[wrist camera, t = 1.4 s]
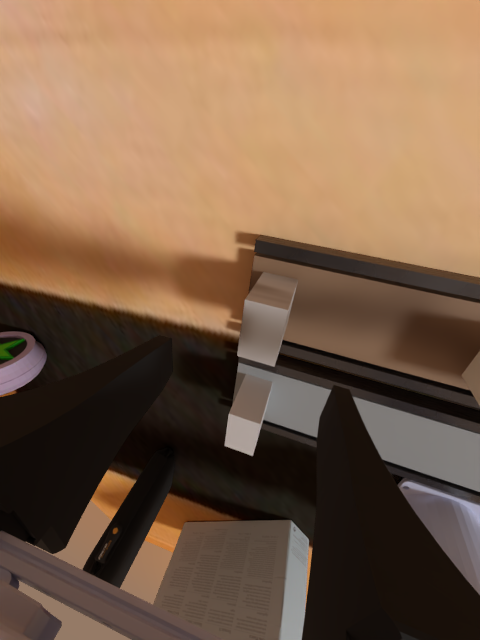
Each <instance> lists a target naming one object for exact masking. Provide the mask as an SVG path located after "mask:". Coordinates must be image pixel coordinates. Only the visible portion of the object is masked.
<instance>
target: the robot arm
mask: <svg viewBox="0 0 480 640" xmlns="http://www.w3.org/2000/svg"><path fill="white" fill-rule="evenodd" d="M172 372H173V361H172V338H168V337H165V336H161V335H159V336H157V337H155V338H153V339H151V340H149V341H147V342H145V343H143V344H141V345H139V346H137V347H135V348H134V349H132V350H130V351H128V352H126V353H124V354H122V355H120V356H118V357H116V358H114V359H111V360H109V361H107V362H105V363H103V364H100V365H98V366H96V367H94V368H92V369H89V370H87V371H84V372H82V373H79V374H77V375H74V376H71V377H69V378H66V379H63V380H60V381H57V382H54V383H51V384H47V385H44V386H41V387H38V388H35V389H31V390H28V391H24V392H20V393H16V394H12V395H8V396H4V397H0V640H54V638H55V637H56V635H57V633H58V631H59V630H60V628H61V626H62V624H61V623H62V622H61V621H60V620H58V619H57V618H56V617H54V616H53V615H52V614H50V613H49V612H48V611H47V610H46V609H44V608H43V606H42V605H41V604H40V603H39V602H37V601H36V600H34V599H32V598H31V597H29V596H27V595H26V594H24V593H22V592H21V591H19V590H18V588H19V581H18V580H20V581H21V582H23V583H25V584H27V585H29V586H31V587H33V588H34V589H36V590H38V591H40V592H42V593H44V594H46V595H48V596H50V597H52V598H53V599H55V600H57V601H59V602H61V603H63V604H65V605H67V606H69V607H71V608H73V609H74V610H76V611H78V612H80V613H82V614H84V615H86V616H88V617H90V618H92V619H94V620H95V621H97V622H99V623H101V624H103V625H105V626H107V627H109V628H111V629H112V630H114V631H116V632H118V633H120V634H122V635H124V636H126V637H128V638H130V639H132V640H224V639H222V638H220V637H218V636H216V635H213V634H211V633H209V632H207V631H205V630H203V629H201V628H199V627H197V626H195V625H193V624H191V623H189V622H187V621H185V620H183V619H181V618H179V617H177V616H175V615H173V614H171V613H169V612H167V611H165V610H163V609H161V608H158V607H156V606H154V605H152V604H150V603H148V602H146V601H144V600H142V599H140V598H138V597H136V596H134V595H132V594H130V593H128V592H126V591H124V590H122V589H120V588H118V587H116V586H114V585H112V584H110V583H108V582H106V581H103V580H101V579H99V578H97V577H95V576H93V575H91V574H89V573H87V572H85V571H83V570H81V569H79V568H77V567H75V566H73V565H71V564H69V563H67V562H65V561H63V560H61V559H59V558H57V557H55V556H53V555H50V554H48V553H46V552H44V551H42V550H40V549H38V548H36V547H34V546H37V547H39V548H41V549H43V550H46V551H48V552H49V553H52V554H54V553H57V552H59V551H61V550H63V549H64V548H66V546H67V544H68V542H69V539H70V538H71V536H72V534H73V532H74V530H75V528H76V526H77V524H78V522H79V520H80V518H81V516H82V514H83V513H84V511H85V509H86V507H87V505H88V503H89V501H90V500H91V498H92V496H93V494H94V492H95V491H96V489H97V487H98V485H99V483H100V482H101V480H102V478H103V476H104V475H105V473H106V471H107V470H108V468H109V466H110V464H111V463H112V461H113V459H114V458H115V456H116V454H117V453H118V451H119V450H120V448H121V446H122V445H123V443H124V442H125V440H126V438H127V437H128V436H129V434H130V433H131V431H132V430H133V429H134V427H135V426H136V425H137V423H138V422H139V421H140V419H141V418H142V417H143V415H144V414H145V413H146V411H147V410H148V409H149V408H150V406H151V405H152V404H153V402H154V401H155V400H156V398H157V397H158V396H159V394H160V393H161V391H162V390H163V388H164V387H165V385H166V383H167V381H168V380H169V378H170V376H171V374H172ZM26 542H28V543H30V544H32V545H34V546H32V545H30V544H28V543H26ZM302 640H480V503H477V502H474V501H471V500H469V499H466V498H463V497H460V496H457V495H454V494H451V493H448V492H445V491H442V490H439V489H436V488H433V487H431V486H428V485H425V484H422V483H419V482H416V481H413V480H410V479H407V478H404V479H402V480H401V481H400V483H399V484H398V485H397V484H396V482H395V480H394V479H393V477H392V475H391V474H390V472H389V470H388V469H387V467H386V465H385V463H384V461H383V460H382V458H381V456H380V454H379V452H378V450H377V449H376V447H375V445H374V443H373V441H372V439H371V437H370V435H369V433H368V431H367V428H366V426H365V424H364V422H363V420H362V418H361V415H360V413H359V411H358V408H357V406H356V404H355V401H354V399H353V396H352V394H351V392H350V390H349V389H346V388H343V387H339V386H336V385H333V387H332V390H331V392H330V394H329V397H328V399H327V401H326V404H325V406H324V408H323V411H322V413H321V415H320V418H319V426H318V434H317V502H316V518H315V529H314V540H313V549H312V559H311V569H310V577H309V586H308V594H307V602H306V610H305V618H304V625H303V633H302Z"/></svg>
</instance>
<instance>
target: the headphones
mask: <svg viewBox="0 0 480 640" xmlns="http://www.w3.org/2000/svg"><path fill="white" fill-rule="evenodd" d="M46 357H47V355H46V352H45V349H44V347H43V345H42V344H41V343H39V342H37V341H36V340H35V339H34V337H33V336H32V335H30V334H28V333H24V332H15V331H13V332H1V333H0V395H3V394H6V393H9V392H12V391H14V390H16V389H18V388H20V387H22V386H24V385H25V384H27V383H28V382H30V381H31V380H32V379H33V378H35V377H36V376H37V375H38V374H39V372H40V371H41V369H42V368H43V365H44V363H45V361H46Z"/></svg>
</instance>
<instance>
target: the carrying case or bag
mask: <svg viewBox="0 0 480 640" xmlns="http://www.w3.org/2000/svg"><path fill="white" fill-rule="evenodd" d="M174 466H175V457H174V455H173V451H172V450H171V449H170V448H164V449H163V450H158V451H156V452H155V454H154V455H153V456H152V458H151V459H150V461H149V462H148V464H147V465H146V467H145V468H144V470H143V472H142V473H141V475H140V476H139V478H138V479H137V481H136V483H135V484H134V486H133V487H132V489H131V490H130V492H129V494H128V495H127V497H126V498H125V500H124V502H123V503H122V505H121V506H120V508H119V510H118V511H117V513H116V514H115V516H114V518H113V519H112V521H111V522H110V524H109V526H108V527H107V529H106V530H105V532H104V534H103V535H102V537H101V538H100V540H99V542H98V543H97V545H96V546H95V548H94V550H93V551H92V553H91V555H90V557H89V558H88V560H87V562H86V564H85V565H84V568H83V571H85V572H87V573H89V574H91V575H93V576H95V577H97V578H99V579H101V580H103V581H106V582H108V583H110V584H112V585H114V586H116V587H118V588H120V587H121V585H122V582H123V581H124V579H125V577H126V575H127V573H128V571H129V569H130V567H131V565H132V563H133V561H134V559H135V557H136V555H137V553H138V551H139V549H140V548H141V546H142V544H143V542H144V540H145V538H146V536H147V534H148V532H149V530H150V528H151V526H152V524H153V522H154V520H155V518H156V516H157V514H158V512H159V510H160V508H161V506H162V504H163V502H164V500H165V498H166V496H167V494H168V492H169V490H170V487H171V484H172V479H173V472H174Z"/></svg>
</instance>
